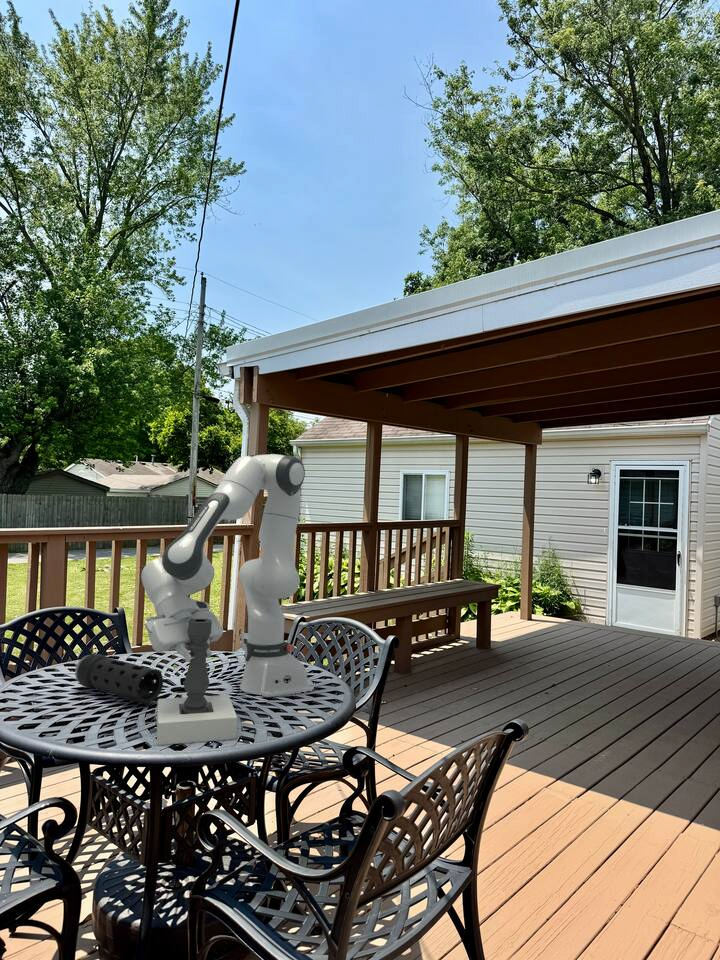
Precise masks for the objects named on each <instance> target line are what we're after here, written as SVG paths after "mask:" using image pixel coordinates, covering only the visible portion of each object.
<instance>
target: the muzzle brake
mask: <svg viewBox="0 0 720 960" xmlns="http://www.w3.org/2000/svg"><path fill="white" fill-rule="evenodd" d="M74 676H75V679H76V680H77V681H78V683H79V684H80V685H81V686H82V687H85V688H89V689H91V690H97V693H99V692H100V693H99V694H102V693H104V694H103V695H107V694H106V693H108V694H112V695H115V696H117V698H118V699H123V700H125V701H128V700H129V701H128V702H131V701H132V702H131V703H134V702H137V703H136V704H138V703H141V704H144V705H148V706H150V705H151V703H152V702H154V701H155V700H156V699H158V697H159V696H160V694H161V692H162V691H163V686H164V678H163V675H162V673H161V672H160V671H159V670H157V669H154V668H151V667H146V666H143V665H139V664H135V663H130V662H127V661H122V660H119V659H114V658H109V656H106V655H103V654H99V653H92V654H88V655H85V656H83V657H82V658H81V659H80V660H79V661H78V662H77V664H76V666H75V669H74ZM141 704H140V705H141ZM149 704H150V705H149ZM144 705H143V706H144Z"/></svg>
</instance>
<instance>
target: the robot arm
mask: <svg viewBox="0 0 720 960" xmlns="http://www.w3.org/2000/svg"><path fill="white" fill-rule="evenodd" d="M305 475H306V471H305V466H304V463H303V462H302V460H301V459H299V458H298V457H296V456H293V455H283V454H275V453H270V454H250V455H243V456H239V457H238V458H237V459H235V461H234V462H233V463H232V464H231V465H230V466H229V468H228V469H227V471H226V473H224V476H223V477H222V479H220V482H219V484H218V485H217V487H216V489H215V490H214V491H213V493H212V494H210V495H209V496H208V497H207V498H206V499H205V500H204V502H203V503H202V504H201V506H200V507H199V508H198V509H197V511H196V512H195V514H194V515H193V517H192V519H191V520H190V521H189V523H188V524H187V525H186V527H185V529H184V530H183V531H182V532H181V533H180V534H179V535H178V537H176V538H175V539H174V540H173V541H172V542H170V543H169V544H168V545H167V546H166V548H165V550H164V551H163V553H162V557H157V558H154V559H152V560H150V561H148V562H147V564H146V565H145V566H144V567H143V569H142V571H141V576H140V577H141V578H140V579H141V582H142V586H143V588H144V591H145V593H146V595H147V597H148V598H147V599H149V601H150V602H151V603H152V604H153V605H154V612H155V614H156V616H149V617H148V618H147V619H145V621H144V627H145V629H146V631H147V633H148V634H147V635H148V638H149V642H150V645H151V647H152V649H153V650H154V651H155V652H157V653H162V652H167V651H171V650H175V651H176V653H177V654H179V655H180V656H181V657H183V658H184V660H185V662H186V663H190V661H193V659H194V658H195V656H194V655H193V653H192V652H191V651H190V650H188V645H189V644H190V643H191V641H190V638H189V634H188V623H189V620H191V619H210V620H212V628H211V634H210V637H209V638H208V641H207V643H208V644H209V645H211V644H210V643H213V642H217V641H218V640H219V639H220V638H221V637H222V636H223V633H224V629H223V626H222V625H221V622H220V621H219V619H218V618H217V616H216V614H214V612H213V611H211V610H210V609H211V606H210V604H209V603H208V602H207V601H202V600H201V601H200V600H197V599H194V598H189V596H192V595H194V594H197V593H199V592H202V591H203V590H205V589H207V588H208V587H209V586H210V585H211V584H212V582H213V580H214V578H215V568H214V566H213V564H212V563H211V561H210V560H209V558H208V557H207V556H206V554H205V552H204V550H205V544H206V542H207V541H208V539H209V537H210V536H211V535H212V533H213V532H214V530H215V529H216V527H217V526H218V525H219V524H220V522H221V521H223V520H224V519H225V520H228V521H236V520H240V519H242V518H244V517H245V515H247V513H248V512H249V511H250V510H251V508H252V506H253V505H254V502H255V500H256V499H257V497H258V494H259V493H260V490H264V491H267V499H266V502H265V505H264V509H263V513H262V519H261V524H260V528H259V532H258V541H259V543H260V545H261V558H252V559H249V560H247V561H245V562H244V563H243V564H242V565H241V567H240V568H239V571H238V579H239V583H240V585H241V586H242V589H243V592H244V598H245V604H246V608H247V640H246V641H245V646H244V660H245V665H244V671H243V674H242V675H243V676H242V679H241V682H240V685H239V690H241V691H243V692H244V693H247V694H252V695H259V696H261V695H262V696H261V697H266V698H272V697H279V696H287V695H294V694H295V693H296V694H302V693H301V692H304V693H307V692H306V691H311V692H313V691H314V690H315V685H314V683H313V681H312V680H311V679H309V678H308V675H307V670H306V666H304V664H303V663H302V662H301V661H299V660H298V659H297V658H296V657H295V656H293V655H292V654H291V653H292V652H293V651H294V646H293V644H291V643H289V642H287V641H285V640H284V638H285V637H284V636H285V619H286V618H285V613H284V612H283V610H282V608H281V605H280V602H279V601H280V600H281V599H287V598H290V597H292V596H294V595H295V593H297V591H298V589H299V587H300V582H301V581H300V579H301V578H300V575H299V572H298V570H297V568H296V564H295V552H294V545H295V538H296V532H297V528H298V527H297V526H298V520H299V516H300V508H301V490H300V489H301V487H302V485H303V483H304V481H305V477H306V476H305ZM211 656H212V650H211V649H210V646H209V648H208V649H207V651H206V659H207V658H210V657H211ZM313 689H314V690H313ZM312 690H313V691H312ZM296 694H295V695H296Z"/></svg>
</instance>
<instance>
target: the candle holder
mask: <svg viewBox="0 0 720 960" xmlns="http://www.w3.org/2000/svg"><path fill="white" fill-rule="evenodd" d="M211 628H212V620H210V619H191V620H189V623H188V634H189V638H190V641H191V643H190V644H189V645H188V647H187V649H189V652H192V653H193V655H194V656H195V658H194V659H193V661H190V662H189V664H188V668H187V671H186V675H185V678H184V682H183V687H184V688H183V689H184V690H185V692H186V693H187V694H186V697H187V699H186V700H185V702H184V706H185V707H183V709H182V714H194V713H208V707H207V706H206V705H207V700H206V699H205V697H204V696H206V693H207V691H208V689H209V687H210V679H209V674H208V673H209V671H208V667H207V658H206V651H207V649H208V648H209V646H210V645H211V644H210V645H209V644H208V643H207V641H208V638H209V637H210V634H211ZM209 649H210V648H209Z"/></svg>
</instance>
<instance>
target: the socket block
mask: <svg viewBox="0 0 720 960" xmlns="http://www.w3.org/2000/svg"><path fill="white" fill-rule="evenodd" d="M187 697H188V696H185V697H174V698H173V697H172V698H170V697H168V698H157V712H156V746H163V745H164V746H165V745H174V744H175V745H176V744H188V743H191V744H192V743H203V742H212V741H213V742H214V741H225V740H226V741H227V740H228V741H229V740H237V731H238V730H237V729H238V728H237V727H238V716H237V714H236V711H235V709H234V705H233V703H232V700H231V697H230V695H229V694H222V695H207V696H206V695H204V697H205V699H206V700H207V705H206V706H207V707H208V713H194V714H182V709H183V707H185V706H184V702H185V700H186V699H187Z"/></svg>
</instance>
